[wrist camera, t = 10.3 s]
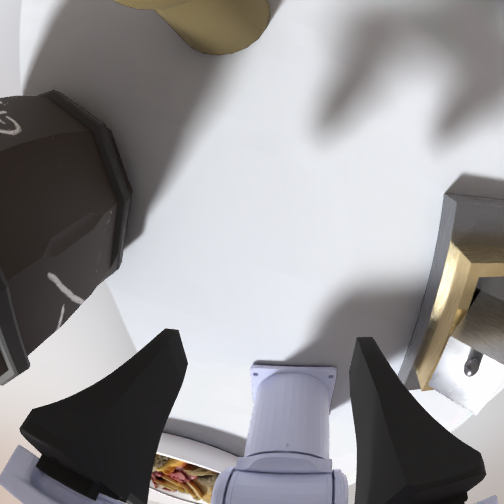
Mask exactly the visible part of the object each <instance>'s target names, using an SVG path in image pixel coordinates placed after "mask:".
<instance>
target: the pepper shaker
mask: <svg viewBox="0 0 504 504" xmlns="http://www.w3.org/2000/svg"><path fill="white" fill-rule="evenodd" d="M114 1H115V2H117V3H119V4H122V5H125V6H128V7H132V8H135V9H140V10H155V11H156V12H157V13H158V14H159V15H160V16H161V17H162V18H163V19H164V20H165V21H166V22H167V23H168V24H169V25H170V26H171V27H172V28H173V29H174V30H175V31H176V32H177V33H178V35H179V36H180V37H181V38H182V39H183V40H184V41H185V42H186V43H187V44H189V45H190V46H191V47H192V48H193V49H195V50H198V51H200V52H202V53H204V54H212V55H224V54H232V53H235V52H237V51H240V50H242V49H245V48H247V47H248V46H250V45H251V44H252V43H254V42H255V41H256V40H257V39H259V37H260V36H261V35H262V33H263V32H264V30H265V29H266V28H267V25H268V21H269V18H270V9H269V3H268V1H267V0H114Z"/></svg>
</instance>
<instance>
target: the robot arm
mask: <svg viewBox="0 0 504 504" xmlns="http://www.w3.org/2000/svg"><path fill="white" fill-rule="evenodd" d="M187 365H188V362H187V358H186V355H185V352H184V348H183V345H182V341H181V337H180V334H179V330H174V329H164V330H163V331H162V332H161V333H160V334H158V335H157V336H156V337H155V338H154V339H153V340H152V341H150V342H149V343H148V344H147V345H146V346H145V347H144V348H142V349H141V350H140V351H139V352H138V353H137V354H135V355H134V356H133V357H132V358H131V359H129V360H128V361H127V362H125V363H124V364H123V365H122V366H120V367H119V368H118V369H116V370H115V371H114V372H112V373H111V374H109V375H108V376H106V377H105V378H104V379H102V380H100V381H99V382H97V383H95V384H94V385H92V386H90V387H88V388H86V389H84V390H82V391H80V392H79V393H77V394H75V395H72V396H70V397H68V398H65V399H63V400H60V401H58V402H55V403H52V404H49V405H45V406H42V407H38V408H35V409H32V411H31V412H30V414H29V415H28V416H27V418H26V420H25V421H24V422H23V424H22V425H21V427H20V432H21V434H22V435H23V436H24V437H25V438H26V440H28V442H30V443H31V444H32V445H33V446H34V447H35V448H36V449H37V450H38V451H39V452H40V453H41V454H42V456H41V457H40V458H38V457H37V456H36V455H34V454H33V453H31V452H29V451H28V450H27V449H25V448H24V447H22V446H21V445H18V446H17V448H16V449H15V451H14V453H13V455H12V456H11V458H10V460H9V461H8V463H7V465H6V466H5V468H4V470H3V472H2V473H1V475H0V485H2V486H3V487H4V488H5V489H6V490H8V491H9V492H10V493H11V494H12V495H13V496H14V497H16V498H17V499H18V500H19V501H21V502H22V503H23V504H125V503H127V504H147V501H148V493H149V486H150V480H151V475H152V470H153V465H154V461H155V457H156V453H157V449H158V445H159V442H160V438H161V435H162V431H163V429H164V426H165V423H166V421H167V419H168V416H169V414H170V412H171V409H172V407H173V405H174V402H175V400H176V398H177V395H178V393H179V391H180V388H181V386H182V383H183V380H184V376H185V373H186V369H187ZM250 375H251V384H252V394H253V403H254V406H253V411H252V416H251V421H250V427H249V432H248V437H247V442H246V447H245V452H244V457H238V458H237V462H236V467H233V466H229V467H227V468H226V469H225V470H224V471H223V472H221V473H220V474H219V476H218V477H217V479H216V482H215V484H214V487H213V491H212V496H211V503H210V504H348V481H347V477H346V475H345V474H344V473H342V472H341V470H340V469H333V471H332V459H329V407H330V403H331V399H332V394H333V390H334V385H335V380H336V375H337V369H336V368H335V367H291V366H267V365H252V366H251V368H250ZM349 377H350V397H351V404H352V411H353V418H354V425H355V433H356V442H357V475H356V493H355V504H464V502H465V501H467V499H468V496H467V491H469V490H470V489H472V488H473V487H474V486H475V485H477V484H478V483H479V482H481V481H482V480H483V479H484V477H485V476H486V471H485V466H484V462H483V459H482V456H481V453H480V452H478V451H477V450H475V449H473V448H472V447H470V446H468V445H467V444H465V443H464V442H462V441H461V440H459V439H458V438H456V437H455V436H454V435H453V434H451V433H450V432H449V431H447V430H446V429H445V428H444V427H443V426H442V425H441V424H439V423H438V422H437V421H436V420H435V419H434V418H433V417H432V416H431V415H430V414H429V413H428V412H427V411H426V410H425V409H424V408H423V407H422V406H421V405H420V404H419V403H418V402H417V400H416V399H415V398H414V397H413V396H412V395H411V393H410V392H409V391H408V390H407V388H406V387H405V386H404V384H403V383H402V382H401V380H400V379H399V378H398V376H397V375H396V373H395V372H394V370H393V369H392V368H391V366H390V365H389V363H388V361H387V360H386V358H385V357H384V355H383V354H382V352H381V350H380V349H379V347H378V345H377V344H376V342H375V340H374V339H373V338H372V337H357V339H356V344H355V349H354V354H353V358H352V362H351V367H350V371H349ZM118 500H119V501H118ZM120 501H121V502H120ZM123 502H124V503H123ZM474 504H498V501H497V496H496V495H494V496H491V497H489V498H487V499H484V500H482V501H479V502H477V503H474Z"/></svg>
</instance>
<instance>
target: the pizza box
mask: <svg viewBox="0 0 504 504" xmlns="http://www.w3.org/2000/svg"><path fill="white" fill-rule="evenodd" d="M237 458H238V457H236V456H234V455H232V454H230V453H227V452H225V451H223V450H220V449H218V448H215V447H212V446H209V445H206V444H204V443H200V442H197V441H194V440H191V439H187V438H184V437H180V436H176V435H171V434H167V433H162V435H161V438H160V442H159V445H158V449H157V453H156V457H155V461H154V465H153V470H152V475H151V480H150V486H149V489H151V490H154V491H156V492H158V493H161V494H163V495H166V496H169V497H172V498H174V499H178V500H181V501H184V502H188V503H192V504H210V503H211V496H212V491H213V487H214V484H215V482H216V479H217V477H218V476H219V474H220V473H221V472H223V471H224V470H225V469H226V468H227V467H229V466H233V467H236V462H237Z"/></svg>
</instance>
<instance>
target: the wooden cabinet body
mask: <svg viewBox="0 0 504 504" xmlns="http://www.w3.org/2000/svg"><path fill="white" fill-rule="evenodd" d="M481 290H482V291H484V292H486V293H488V294H490V295H492V296H494V297H497V298H499V299H501V300H503V301H504V200H500V199H492V198H483V197H474V196H465V195H454V194H444V200H443V207H442V214H441V221H440V227H439V233H438V238H437V244H436V249H435V254H434V258H433V263H432V267H431V272H430V276H429V280H428V284H427V288H426V292H425V296H424V299H423V303H422V306H421V310H420V313H419V317H418V320H417V323H416V326H415V329H414V333H413V336H412V339H411V341H410V344H409V347H408V350H407V353H406V356H405V358H404V361H403V364H402V366H401V369H400V371H399V374H398V378H399V379H400V380H401V382H402V383H403V384H404V386H405V387H406V388H407V390H415V389H421V391H427V390H435V389H433V388H431V387H430V386H428V383H429V381H430V379H431V377H432V375H433V373H434V371H435V369H436V367H437V365H438V363H439V361H440V359H441V356H442V354H443V352H444V350H445V347H446V345H447V343H448V340H449V338H450V336H451V334H452V333H453V331H454V330H455V329H456V327H457V326H458V324H459V323H460V322H461V320H462V319H463V317H464V316H465V314H466V313H467V311H468V310H469V308H470V307H471V305H472V304H473V302H474V301H475V299H476V297H477V296H478V294H479V293H480V291H481Z"/></svg>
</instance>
